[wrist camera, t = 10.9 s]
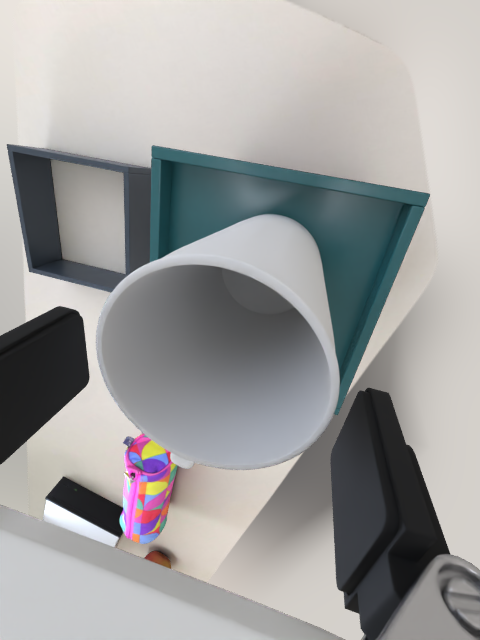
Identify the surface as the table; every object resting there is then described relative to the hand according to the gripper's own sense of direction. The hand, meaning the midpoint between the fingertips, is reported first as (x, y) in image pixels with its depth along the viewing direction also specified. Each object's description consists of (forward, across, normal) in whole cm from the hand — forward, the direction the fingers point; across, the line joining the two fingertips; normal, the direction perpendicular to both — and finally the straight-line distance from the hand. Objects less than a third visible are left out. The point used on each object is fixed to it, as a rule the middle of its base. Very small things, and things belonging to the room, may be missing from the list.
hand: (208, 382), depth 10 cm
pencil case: (+26, +14, +47) cm, 56 cm away
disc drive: (+26, +31, +74) cm, 84 cm away
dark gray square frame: (+27, +23, +3) cm, 36 cm away
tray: (+11, 0, +1) cm, 11 cm away
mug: (+11, 0, 0) cm, 11 cm away
